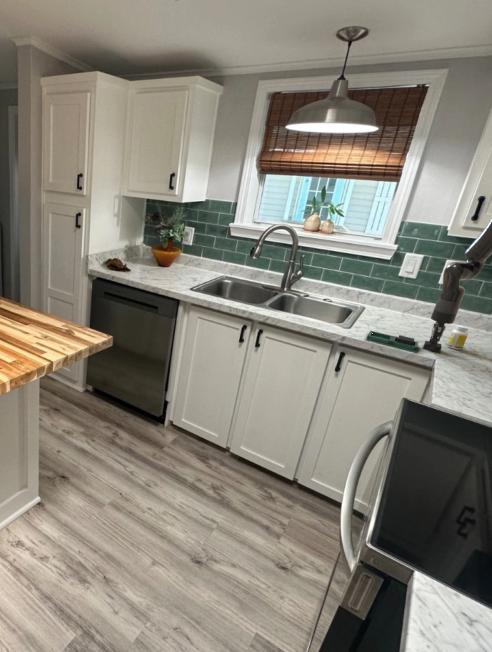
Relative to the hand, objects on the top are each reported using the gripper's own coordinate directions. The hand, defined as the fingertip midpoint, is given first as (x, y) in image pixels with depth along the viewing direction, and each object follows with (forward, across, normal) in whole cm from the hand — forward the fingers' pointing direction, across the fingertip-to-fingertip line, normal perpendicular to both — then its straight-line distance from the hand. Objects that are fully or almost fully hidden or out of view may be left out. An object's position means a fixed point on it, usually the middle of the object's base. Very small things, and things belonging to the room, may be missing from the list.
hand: (431, 346), depth 173 cm
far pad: (+2, 0, 0) cm, 2 cm away
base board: (+2, -5, +14) cm, 15 cm away
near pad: (+1, -5, +9) cm, 11 cm away
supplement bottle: (+2, +13, -8) cm, 15 cm away
